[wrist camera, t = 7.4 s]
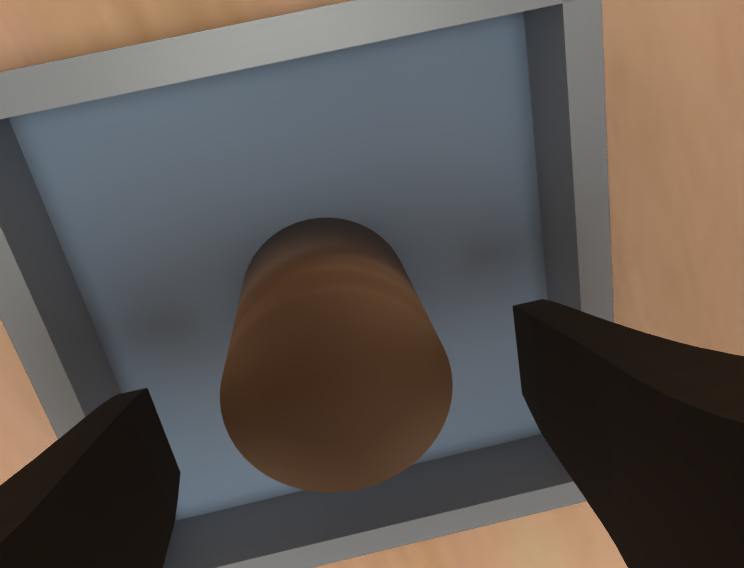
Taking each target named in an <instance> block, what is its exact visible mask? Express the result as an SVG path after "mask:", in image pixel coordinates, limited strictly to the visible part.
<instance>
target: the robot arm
mask: <svg viewBox="0 0 744 568" xmlns="http://www.w3.org/2000/svg"><path fill="white" fill-rule="evenodd" d="M512 308H513V317H514V326H515V335H516V344H517V353H518V362H519V371H520V380H521V389H522V395H523V397H524V399H525V401H526V403H527V406H528V408H529V410H530V412H531V414H532V416H533V418H534V420H535V422H536V424H537V426H538V428H539V430H540V432H541V434H542V435H543V437H544V438H545V440H546V442H547V443H548V445H549V446H550V448H551V449H552V451H553V452H554V453H555V455H556V456H557V458H558V459H559V461H560V462H561V464H562V465H563V467H564V468H565V470H566V471H567V473H568V474H569V476H570V477H571V478H572V480H573V481H574V483H575V484H576V486H577V487H578V489H579V490H580V492H581V493H582V494H583V496H584V497H585V499H586V500H587V502H588V503H589V505H590V506H591V508H592V509H593V510H594V512H595V513H596V515H597V516H598V518H599V519H600V521H601V522H602V524H603V525H604V527H605V528H606V530H607V532H608V533H609V535H610V537H611V538H612V540H613V541H614V543H615V545H616V546H617V548H618V550H619V552H620V554H621V556H622V557H623V559H624V561H625V563H626V565H627V567H628V568H744V356H739V355H733V354H728V353H724V352H719V351H714V350H709V349H704V348H700V347H695V346H691V345H687V344H683V343H679V342H675V341H671V340H668V339H664V338H661V337H658V336H654V335H651V334H647V333H644V332H641V331H637V330H634V329H631V328H628V327H625V326H622V325H619V324H616V323H613V322H610V321H608V320H605V319H602V318H599V317H596V316H593V315H591V314H588V313H585V312H582V311H580V310H577V309H574V308H571V307H568V306H565V305H563V304H560V303H556V302H553V301H550V300H545V299H540V300H536V301H531V302H527V303H522V304H518V305H513V306H512ZM180 473H181V472H180V470H179V467H178V465H177V462H176V460H175V457H174V454H173V452H172V449H171V447H170V444H169V442H168V439H167V436H166V434H165V431H164V429H163V426H162V424H161V421H160V418H159V416H158V413H157V411H156V408H155V406H154V403H153V401H152V398H151V395H150V393H149V390H148V388H144V389H139V390H135V391H130V392H126V393H121V394H117V395H115V396H113V397H111V398H110V399H108V400H107V401H105V402H104V403H103V404H101V405H100V406H99V407H97V408H96V409H95V410H93V411H92V412H91V413H90V414H88V415H87V416H86V417H85V418H83V419H82V420H81V421H80V422H79V423H77V424H76V425H75V426H74V427H73V428H71V429H70V430H69V431H68V432H67V433H65V434H64V435H63V436H62V437H60V438H59V439H58V440H57V441H56V442H54V443H53V444H52V445H51V446H50V447H48V448H47V449H46V450H45V451H44V452H42V453H41V454H40V455H39V456H38V457H36V458H35V459H34V460H33V461H31V462H30V463H29V464H27V465H26V466H25V467H23V468H22V469H21V470H20V471H18V472H17V473H16V474H14V475H13V476H12V477H11V478H9V479H8V480H7V481H5V482H4V483H3V484H2V485H0V568H163V565H164V561H165V557H166V554H167V550H168V546H169V542H170V538H171V535H172V531H173V527H174V523H175V518H176V510H177V503H178V494H179V484H180Z"/></svg>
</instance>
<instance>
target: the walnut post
mask: <svg viewBox="0 0 744 568" xmlns="http://www.w3.org/2000/svg"><path fill="white" fill-rule="evenodd" d="M452 390H453V381H452V371H451V367H450V363H449V359H448V357H447V354H446V352H445V349H444V347H443V345H442V343H441V341H440V339H439V337H438V335H437V333H436V331H435V329H434V327H433V325H432V323H431V321H430V319H429V317H428V315H427V313H426V311H425V309H424V307H423V305H422V303H421V301H420V299H419V297H418V295H417V293H416V291H415V289H414V287H413V285H412V283H411V281H410V279H409V277H408V275H407V273H406V271H405V269H404V267H403V265H402V263H401V261H400V259H399V258H398V256H397V254H396V253H395V251H394V250H393V249H392V247H391V246H390V245H389V244H388V243H387V242H386V241H385V240H384V239H383V238H382V237H381V236H380V235H378V234H377V233H375V232H374V231H373V230H371V229H369V228H367V227H365V226H363V225H361V224H358V223H356V222H353V221H349V220H345V219H340V218H330V217H329V218H314V219H307V220H304V221H300V222H297V223H294V224H292V225H290V226H287V227H285V228H284V229H282V230H280V231H279V232H277V233H276V234H274V235H273V236H272V237H270V238H269V239H268V240H267V241H266V242H265V243H264V244H263V245H262V246H261V247H260V248H259V250H258V251H257V252H256V254H255V255H254V257H253V258H252V260H251V262H250V264H249V266H248V269H247V271H246V274H245V277H244V282H243V286H242V291H241V295H240V299H239V304H238V308H237V313H236V317H235V322H234V326H233V330H232V335H231V339H230V344H229V348H228V352H227V357H226V361H225V366H224V370H223V375H222V379H221V384H220V408H221V414H222V418H223V422H224V425H225V428H226V430H227V432H228V435H229V437H230V439H231V440H232V442H233V443H234V445H235V447H236V448H237V449H238V451H239V452H240V453H241V454H242V455H243V457H244V458H245V459H246V460H247V461H248V462H249V463H251V464H252V465H253V466H254V467H255V468H256V469H258V470H259V471H261V472H262V473H263V474H265V475H266V476H268V477H270V478H272V479H274V480H276V481H278V482H280V483H283V484H286V485H288V486H291V487H294V488H298V489H302V490H307V491H315V492H332V493H334V492H347V491H353V490H358V489H363V488H366V487H370V486H373V485H376V484H378V483H381V482H383V481H386V480H388V479H390V478H392V477H394V476H396V475H397V474H399V473H401V472H402V471H404V470H405V469H407V468H408V467H410V466H411V465H412V464H413V463H415V462H416V461H417V460H418V459H419V458H420V457H421V456H422V455H423V454H424V453H425V452H426V451H427V450H428V449H429V448H430V446H431V445H432V444H433V442H434V441H435V440H436V438H437V437H438V435H439V433H440V432H441V430H442V428H443V426H444V424H445V421H446V419H447V416H448V413H449V410H450V405H451V401H452Z"/></svg>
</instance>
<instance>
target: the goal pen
mask: <svg viewBox="0 0 744 568" xmlns="http://www.w3.org/2000/svg"><path fill="white" fill-rule="evenodd" d="M329 217H330V218H340V219H345V220H349V221H353V222H356V223H358V224H361V225H363V226H365V227H367V228H369V229H371V230H373V231H374V232H375V233H377V234H378V235H380V236H381V237H382V238H383V239H384V240H385V241H386V242H387V243H388V244H389V245H390V246H391V247H392V249H393V250H394V251H395V253H396V254H397V256H398V258H399V259H400V261H401V263H402V265H403V267H404V269H405V271H406V273H407V275H408V277H409V279H410V281H411V283H412V285H413V287H414V289H415V291H416V293H417V295H418V297H419V299H420V301H421V303H422V305H423V307H424V309H425V311H426V313H427V315H428V317H429V319H430V321H431V323H432V325H433V327H434V329H435V331H436V333H437V335H438V337H439V339H440V341H441V343H442V345H443V347H444V349H445V352H446V354H447V357H448V359H449V363H450V367H451V371H452V381H453V390H452V401H451V405H450V410H449V413H448V416H447V419H446V421H445V424H444V426H443V428H442V430H441V432H440V433H439V435H438V437H437V438H436V440H435V441H434V442H433V444H432V445H431V446H430V448H429V449H428V450H427V451H426V452H425V453H424V454H423V455H422V456H421V457H420V458H419V459H418V460H417V461H416V462H415V463H413V464H412V465H411V466H410V467H408V468H407V469H405V470H404V471H402V472H401V473H399V474H397V475H396V476H394V477H392V478H390V479H388V480H386V481H383V482H381V483H378V484H376V485H373V486H370V487H366V488H363V489H358V490H353V491H347V492H334V493H332V492H315V491H307V490H302V489H298V488H294V487H291V486H288V485H286V484H283V483H280V482H278V481H276V480H274V479H272V478H270V477H268V476H266V475H265V474H263V473H262V472H261V471H259V470H258V469H256V468H255V467H254V466H253V465H252V464H251V463H249V462H248V461H247V460H246V459H245V458H244V457H243V455H242V454H241V453H240V452H239V451H238V449H237V448H236V447H235V445H234V443H233V442H232V440H231V439H230V437H229V435H228V432H227V430H226V428H225V425H224V422H223V418H222V414H221V408H220V384H221V379H222V375H223V370H224V366H225V361H226V357H227V352H228V348H229V344H230V339H231V335H232V330H233V326H234V322H235V317H236V313H237V308H238V304H239V299H240V295H241V291H242V286H243V282H244V277H245V274H246V271H247V269H248V266H249V264H250V262H251V260H252V258H253V257H254V255H255V254H256V252H257V251H258V250H259V248H260V247H261V246H262V245H263V244H264V243H265V242H266V241H267V240H268V239H269V238H270V237H272V236H273V235H274V234H276V233H277V232H279V231H280V230H282V229H284V228H285V227H287V226H290V225H292V224H294V223H297V222H300V221H304V220H307V219H314V218H329ZM540 299H545V300H550V301H553V302H556V303H560V304H563V305H565V306H568V307H571V308H574V309H577V310H580V311H582V312H585V313H588V314H591V315H593V316H596V317H599V318H602V319H605V320H608V321H610V322H613V323H614V315H613V289H612V263H611V237H610V210H609V184H608V158H607V132H606V106H605V80H604V54H603V27H602V1H601V0H353V1H348V2H343V3H338V4H333V5H328V6H323V7H318V8H314V9H309V10H304V11H299V12H294V13H289V14H284V15H279V16H274V17H269V18H264V19H259V20H254V21H250V22H245V23H240V24H235V25H230V26H225V27H220V28H215V29H210V30H205V31H200V32H195V33H190V34H186V35H181V36H176V37H171V38H166V39H161V40H156V41H151V42H146V43H141V44H136V45H131V46H126V47H122V48H117V49H112V50H107V51H102V52H97V53H92V54H87V55H82V56H77V57H72V58H67V59H62V60H57V61H53V62H48V63H43V64H38V65H33V66H28V67H23V68H18V69H13V70H8V71H3V72H0V318H1V320H2V322H3V325H4V327H5V329H6V331H7V333H8V335H9V337H10V339H11V341H12V343H13V346H14V348H15V350H16V352H17V354H18V356H19V358H20V360H21V362H22V364H23V367H24V369H25V371H26V373H27V375H28V377H29V379H30V381H31V383H32V385H33V388H34V390H35V392H36V394H37V396H38V398H39V400H40V402H41V404H42V406H43V409H44V411H45V413H46V415H47V417H48V419H49V421H50V423H51V425H52V427H53V430H54V432H55V434H56V436H57V438H58V439H59V438H60V437H62V436H63V435H64V434H65V433H67V432H68V431H69V430H70V429H71V428H73V427H74V426H75V425H76V424H77V423H79V422H80V421H81V420H82V419H83V418H85V417H86V416H87V415H88V414H90V413H91V412H92V411H93V410H95V409H96V408H97V407H99V406H100V405H101V404H103V403H104V402H105V401H107V400H108V399H110V398H111V397H113V396H115V395H117V394H121V393H126V392H130V391H135V390H139V389H144V388H148V390H149V393H150V395H151V398H152V401H153V403H154V406H155V408H156V411H157V413H158V416H159V418H160V421H161V424H162V426H163V429H164V431H165V434H166V436H167V439H168V442H169V444H170V447H171V449H172V452H173V454H174V457H175V460H176V462H177V465H178V467H179V470H180V472H181V473H180V484H179V494H178V503H177V510H176V518H175V523H174V527H173V531H172V535H171V538H170V542H169V546H168V550H167V554H166V557H165V561H164V565H163V568H313V567H317V566H321V565H325V564H329V563H333V562H337V561H341V560H346V559H350V558H354V557H358V556H362V555H366V554H370V553H374V552H379V551H383V550H387V549H391V548H395V547H399V546H403V545H408V544H412V543H416V542H420V541H424V540H428V539H432V538H436V537H441V536H445V535H449V534H453V533H457V532H461V531H465V530H469V529H474V528H478V527H482V526H486V525H490V524H494V523H498V522H502V521H507V520H511V519H515V518H519V517H523V516H527V515H531V514H535V513H540V512H544V511H548V510H552V509H556V508H560V507H564V506H568V505H573V504H577V503H581V502H585V501H587V500H586V499H585V497H584V496H583V494H582V493H581V492H580V490H579V489H578V487H577V486H576V484H575V483H574V481H573V480H572V478H571V477H570V476H569V474H568V473H567V471H566V470H565V468H564V467H563V465H562V464H561V462H560V461H559V459H558V458H557V456H556V455H555V453H554V452H553V451H552V449H551V448H550V446H549V445H548V443H547V442H546V440H545V438H544V437H543V435H542V434H541V432H540V430H539V428H538V426H537V424H536V422H535V420H534V418H533V416H532V414H531V412H530V410H529V408H528V406H527V403H526V401H525V399H524V397H523V395H522V389H521V380H520V371H519V362H518V353H517V344H516V335H515V326H514V317H513V308H512V306H513V305H518V304H522V303H527V302H531V301H536V300H540Z"/></svg>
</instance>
